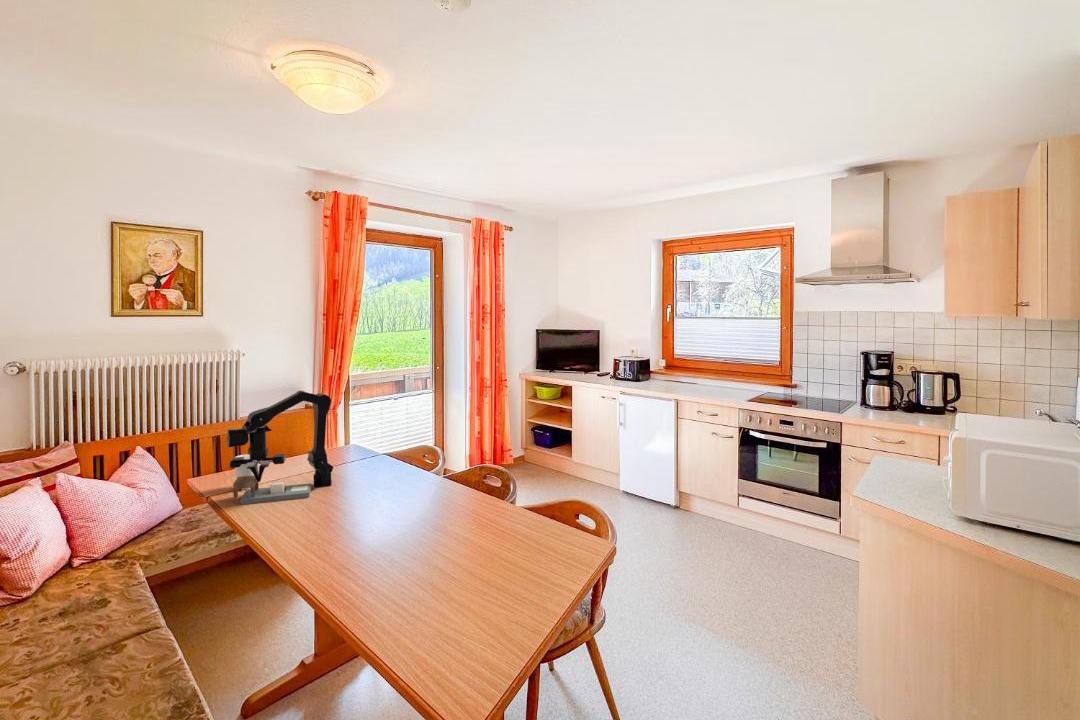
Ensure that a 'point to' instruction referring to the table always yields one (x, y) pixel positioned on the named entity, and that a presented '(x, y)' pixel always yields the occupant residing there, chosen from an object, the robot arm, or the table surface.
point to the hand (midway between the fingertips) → (259, 481)
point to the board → (265, 495)
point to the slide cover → (245, 485)
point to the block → (277, 487)
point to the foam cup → (244, 469)
